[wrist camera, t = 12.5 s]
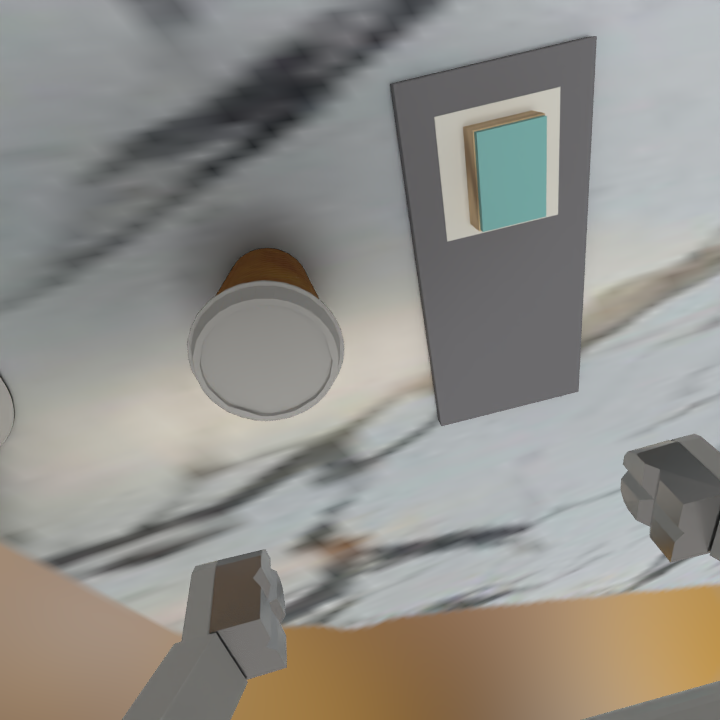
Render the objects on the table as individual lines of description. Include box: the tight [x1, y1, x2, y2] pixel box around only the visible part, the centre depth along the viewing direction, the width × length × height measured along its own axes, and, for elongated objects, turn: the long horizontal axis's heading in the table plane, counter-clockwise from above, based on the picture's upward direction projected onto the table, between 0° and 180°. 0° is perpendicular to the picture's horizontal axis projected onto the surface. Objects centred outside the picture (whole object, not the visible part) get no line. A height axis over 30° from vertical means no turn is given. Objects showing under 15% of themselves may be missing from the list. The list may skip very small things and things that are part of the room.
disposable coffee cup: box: [187, 248, 344, 421], centre depth 35 cm, size 10×10×12 cm
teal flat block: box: [463, 110, 547, 232], centre depth 36 cm, size 7×5×2 cm
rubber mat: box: [390, 36, 597, 426], centre depth 42 cm, size 14×30×1 cm, turn 11°
